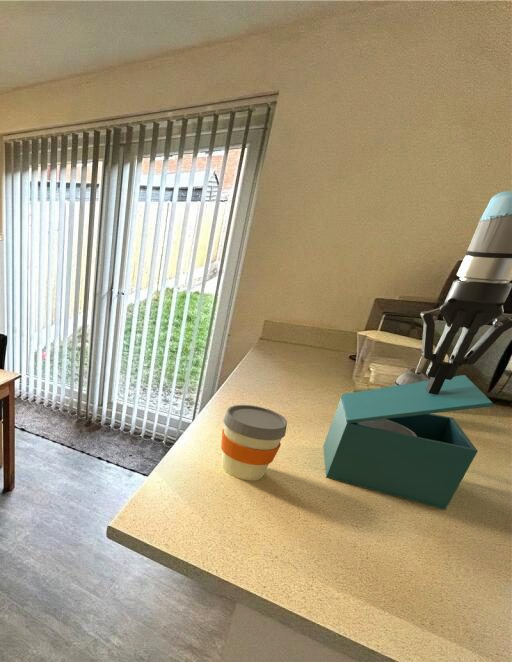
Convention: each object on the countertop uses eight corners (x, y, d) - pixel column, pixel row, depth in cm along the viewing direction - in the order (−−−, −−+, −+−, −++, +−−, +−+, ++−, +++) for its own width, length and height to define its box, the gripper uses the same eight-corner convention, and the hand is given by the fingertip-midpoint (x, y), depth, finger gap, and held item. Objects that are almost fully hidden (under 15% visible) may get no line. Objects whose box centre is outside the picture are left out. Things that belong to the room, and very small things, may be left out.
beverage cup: (382, 421, 118) (408, 359, 110) (378, 412, 123) (403, 352, 115) (415, 428, 114) (445, 364, 106) (410, 418, 119) (438, 356, 111)
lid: (465, 378, 86) (464, 374, 86) (493, 406, 74) (492, 402, 74) (342, 397, 100) (341, 394, 100) (347, 423, 88) (346, 420, 88)
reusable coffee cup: (202, 459, 102) (213, 407, 96) (243, 452, 104) (256, 401, 98) (240, 489, 90) (255, 432, 84) (284, 480, 93) (302, 425, 87)
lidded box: (426, 471, 95) (453, 417, 89) (445, 509, 83) (478, 450, 77) (323, 446, 106) (341, 397, 100) (326, 477, 94) (346, 423, 88)
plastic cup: (398, 489, 88) (419, 443, 83) (337, 470, 95) (354, 427, 90) (398, 467, 95) (418, 424, 91) (341, 451, 102) (357, 410, 97)
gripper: (527, 279, 74) (470, 392, 83) (431, 275, 81) (387, 379, 90) (546, 285, 68) (482, 405, 78) (440, 279, 75) (393, 390, 85)
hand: (431, 391), depth 84 cm, fingers closed
